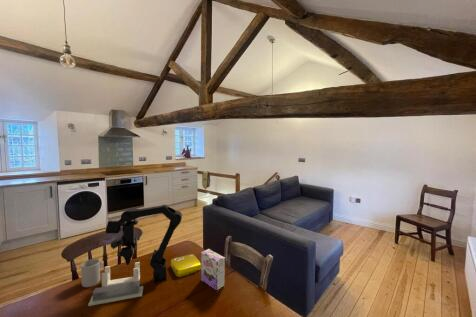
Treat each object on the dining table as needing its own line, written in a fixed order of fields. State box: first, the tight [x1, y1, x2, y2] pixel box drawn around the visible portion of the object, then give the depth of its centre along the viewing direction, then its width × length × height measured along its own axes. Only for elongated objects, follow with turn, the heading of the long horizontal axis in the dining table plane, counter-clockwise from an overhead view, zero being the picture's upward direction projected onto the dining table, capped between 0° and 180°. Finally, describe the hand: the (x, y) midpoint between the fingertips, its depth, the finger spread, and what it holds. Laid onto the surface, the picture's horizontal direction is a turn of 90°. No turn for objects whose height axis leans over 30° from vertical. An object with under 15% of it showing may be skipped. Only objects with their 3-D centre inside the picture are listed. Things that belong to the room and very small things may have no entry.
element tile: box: [170, 253, 201, 278], centre depth 136 cm, size 15×15×5 cm
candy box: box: [200, 248, 226, 291], centre depth 121 cm, size 14×6×16 cm, turn 46°
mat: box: [87, 285, 144, 307], centre depth 110 cm, size 23×7×1 cm, turn 108°
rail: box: [92, 280, 141, 301], centre depth 110 cm, size 20×4×4 cm, turn 108°
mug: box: [80, 258, 103, 288], centre depth 122 cm, size 12×8×11 cm
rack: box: [101, 261, 141, 287], centre depth 121 cm, size 18×7×8 cm, turn 108°
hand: (129, 260), depth 121 cm, fingers open, 9 cm apart
